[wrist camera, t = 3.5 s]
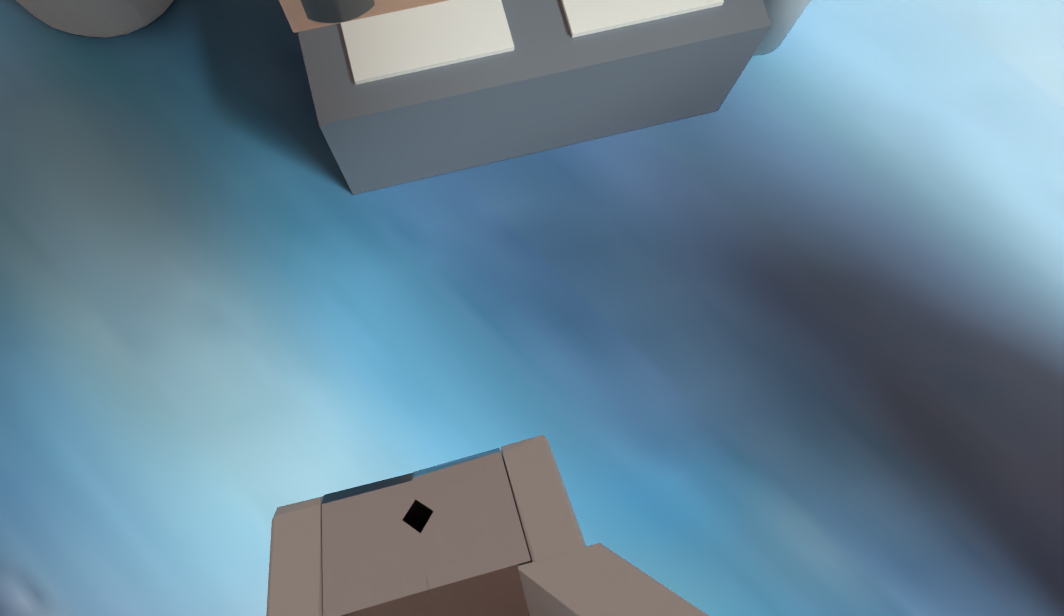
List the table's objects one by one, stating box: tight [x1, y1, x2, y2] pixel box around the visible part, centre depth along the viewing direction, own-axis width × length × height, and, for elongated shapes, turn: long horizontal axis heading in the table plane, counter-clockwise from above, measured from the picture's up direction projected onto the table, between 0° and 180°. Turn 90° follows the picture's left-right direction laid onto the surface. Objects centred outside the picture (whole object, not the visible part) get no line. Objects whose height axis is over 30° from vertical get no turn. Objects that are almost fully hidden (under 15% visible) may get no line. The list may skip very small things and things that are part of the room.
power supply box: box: [298, 0, 811, 195], centre depth 27 cm, size 18×6×8 cm, turn 105°
